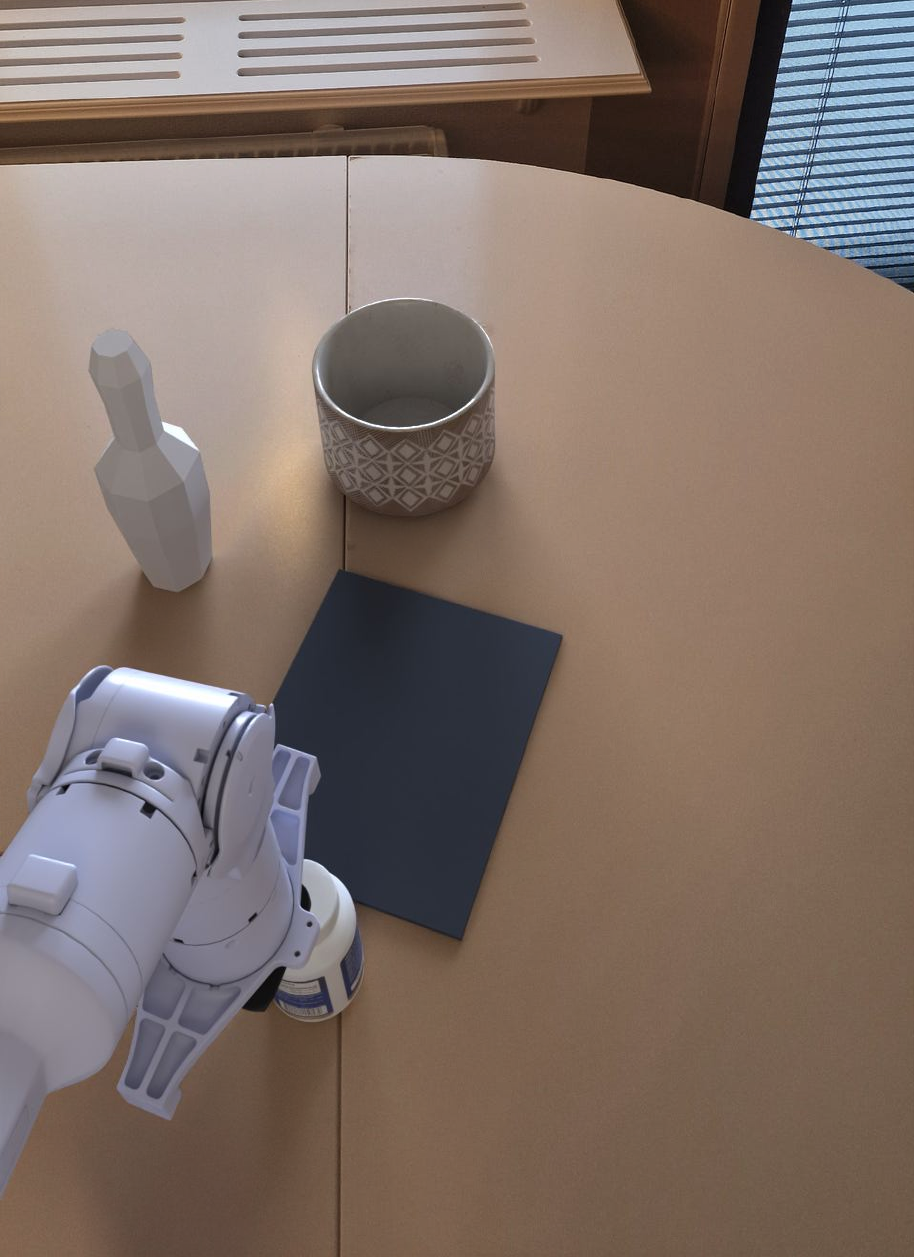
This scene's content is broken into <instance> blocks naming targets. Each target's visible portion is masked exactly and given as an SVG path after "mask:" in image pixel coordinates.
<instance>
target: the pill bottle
mask: <svg viewBox="0 0 914 1257" xmlns="http://www.w3.org/2000/svg"><path fill="white" fill-rule="evenodd" d="M302 884H303V885H304V886H305V887H306V889H307V891H308V892H309V896H310V899H311V909H310V913H312V914H314V915H315V916H316V917H317V919H318V922H319V925H320V933H319V936H318V939H317V941H316V944H315V946H314V949H313V951H312V954H311V956H310V959H309V961H308V962H307V964H306V965H305V967H303V968H301V969H299V970H296V969H291V968H288V967H287V968H286V971H285V973H284V976H283V978H282V981H281V983H280V985H279V988H278V990H277V993H276V995H275V997H274V999H273V1003H274V1004H275V1005H276V1006H277V1008H278V1009H279V1010H280V1011H282V1012H283V1014H285V1015H287V1016H288V1017H290V1018H292V1019H294V1020H296V1021H301V1022H306V1023H317V1022H323V1021H326V1020H330V1019H332V1018H334V1017H335V1016H337V1015H339V1014H340V1013H341V1012H342V1011H344V1010H345V1009H346V1008H347V1007H348V1006H349V1005H350V1004H351V1003H352V1002H353V1000H354V998H355V997H356V996H357V994H358V992H359V990H360V988H361V985H362V984H363V983H362V982H363V979H364V974H365V954H364V949H363V944H362V938H361V932H360V928H359V922H358V918H357V912H356V909H355V904H354V902H353V901H352V898H351V896H350V894H349V892H348V890H347V889H346V887H345V886H344V884H343V883H342V882H341V881H340V880H339V879H338V878H336V877H335V876H334V875H332V874H331V873H329V872H328V871H327V870H326V869H325V868H324V867H323V866H322V865H320V864H318V863H317V862H314V861H311V860H306V859H304V860H303V874H302ZM298 957H299V956H298Z"/></svg>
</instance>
